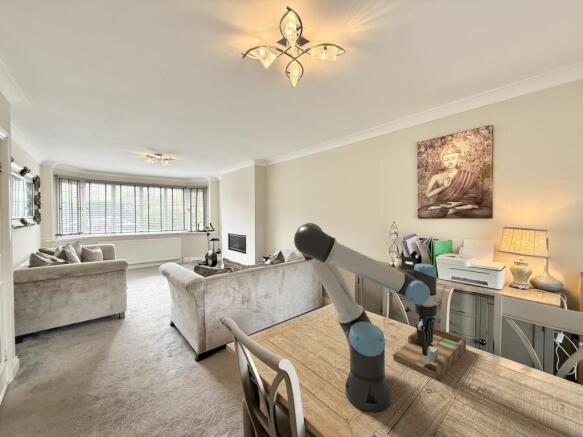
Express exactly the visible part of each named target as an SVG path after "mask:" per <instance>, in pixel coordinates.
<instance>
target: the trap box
mask: <svg viewBox="0 0 583 437" xmlns="http://www.w3.org/2000/svg"><path fill="white" fill-rule="evenodd" d="M407 338H408V339H407V341H408V342H407V343H406V344H404V345H403V346H402V347H401V348H399V349H398V350H397V351H395V352H394V353H393V354H392V358H393V361H395V362H397V363H399V364H402V365H403V366H405V367H408V368H409V369H411V370H414V371H416V372H419V373H420V374H422V375H424V376H427V377H429V378H431V379H434V380H435V381H438V382H441V380H442V379H443V378H444V377H445V376H446V374H447V373H448V372H449V371H450V370H451V368H452V367H453V366H454V365H455V364H456V362H457V361H458V360H459V359H460V357H461V356H462V355H463V354H464V352H465V351H466V350H467V346H466V344H467V341H466V340H467V338H466V337H464V336H461V335H457V334H455V333H451V332H448V331H445V330H442V329H438V328H436V327H434V334H433V343H431V344H433V347H434V348H437V349H438V359H437V360H436V361H435V362H433V361H431V363H430V364H426V363H424V362H422V347H420V346H419V342H418V334H417V329H416V330H415V331H414V332H412V333H411V334H409V335H408V336H407Z"/></svg>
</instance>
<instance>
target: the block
mask: <svg viewBox="0 0 583 437" xmlns="http://www.w3.org/2000/svg"><path fill="white" fill-rule="evenodd" d="M430 347H431V346H430ZM437 359H438V349H437V348H434V347H431V361H433V362H435V361H436V360H437Z"/></svg>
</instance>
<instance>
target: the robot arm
mask: <svg viewBox="0 0 583 437" xmlns="http://www.w3.org/2000/svg"><path fill="white" fill-rule="evenodd" d="M293 242H294V243H293V244H294V246H295V248H296V250H297V251H298V252H299V253H300V254H301V255H302V256H303V258H304V260H305V262H307V263H311V265H312V268H313V269H314V271H315V273H316V274H317V276H318V278H319V281H320V282H321V284H322V286H323V288H324V289H325V292H326V294H327V295H328V297H329V299H330V301H331V303H332V304H333V306H334V308H335V311H336V312H337V314H338V315H337V318H336V320H337V321H338V324H339V325H340V328H341V329H342V331H343V333H344V336H345V337H346V342H347V344H348V348H349V349H348V350H349V367H350V368H349V372H348V376H347V378H346V382H345V387H344V389H345V396H346V398H347V400H348V401H349V403H350V404H352V405H353V406H354V407H356V409H360V410H362V411H365V412H369V413H380V412H383V411H385V410H387V409H388V408H389V407H390V405H391V399H392V398H391V397H392V396H391V390H390V388H389V384H388V382H387V379H386V372H385V371H386V369H385V368H386V367H385V366H386V364H385V363H386V362H385V360H386V359H385V358H386V357H385V356H386V355H385V354H386V353H385V352H386V350H385V347H386V340H385V334H384V332H383V330H382V329H381V328H380V327H379V326H378V325H375V324H374V323H372V321H371V319H370V317H369V316H368V313H367V312H366V310H365V309H364V307H363V305H360V304H358V303H357V302H356V299H355V298H354V296H353V294H352V292H351V291H350V288H349V286H348V285H347V282H346V281H345V279H344V277H343V275H342V274H341V272H340V270H339V268H340V269H342V270H346V271H347V272H349V273H352V274H354V275H355V276H358V277H361V278H362V279H365V280H367V281H369V282H372V284H373V283H374V284H375V285H378V286H379V287H382V288H384V289H386V290H388V291H391V292H393V293H394V294H397V295H398V296H401V297H402V298H403V297H404V298H405V299H407V301H409V302H410V303H413V304H414V311H415V313H416V314H417V315H418V323H417V324H415V328H416V330H417V334H418V342H419V346H420V347H422V362H424V363H426V364H430V363H431V347H433V344H431V343H433V334H434V328H435V323H436V316H437V313H438V311H437V310H438V309H437V308H438V307H437V301H438V299H439V298H438V297H437V278H438V276H437V269H436V266H434V265H433V264H430V263H416V264H414V268H412V269H396V268H394V267H392V266H390V265H388V264H385V263H382V262H380V261H378V260H376V259H375V258H371V257H370V256H368V255H366V254H363V253H361V252H359V251H357V250H354V249H352V248H350V247H349V246H347V245H344V244H341V243H339V242H338V240H337V239H336V237H333V236H331V235H329V234H327V233H326V232H325V231H323V230H322V228H321V227H320V226H319V225H318V224H316V223H313V222H312V223H311V222H307V223H304V224H302V225H301V226H299V227H298V229H297V230H296V231H295V234H294V238H293ZM338 267H339V268H338ZM430 346H431V347H430Z"/></svg>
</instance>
